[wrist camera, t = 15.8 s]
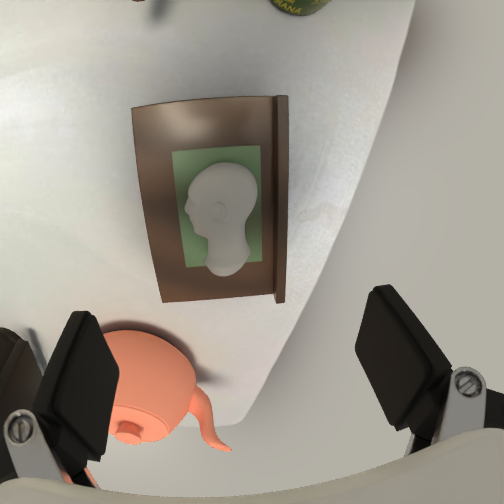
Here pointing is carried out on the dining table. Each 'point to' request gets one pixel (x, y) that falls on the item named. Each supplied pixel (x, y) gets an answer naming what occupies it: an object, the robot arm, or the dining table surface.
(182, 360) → the teapot
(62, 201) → the dining table surface
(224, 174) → the smooth white sculpture
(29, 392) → the light fixture
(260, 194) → the brown wooden flat block
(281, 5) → the beer can
